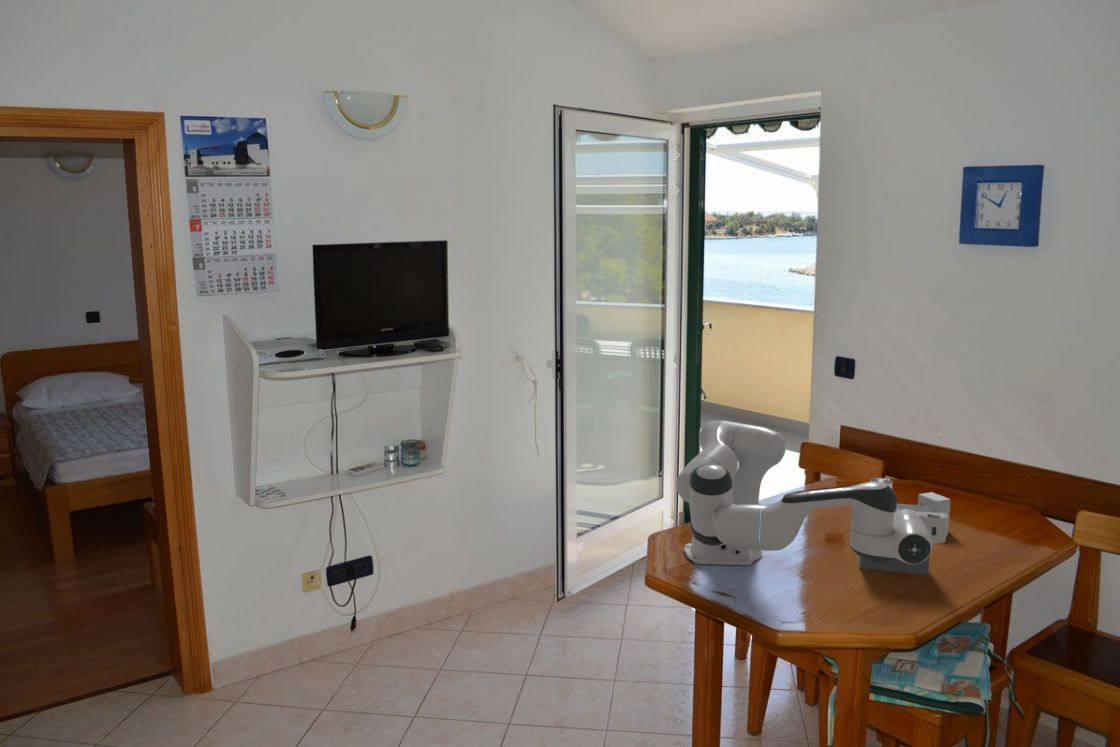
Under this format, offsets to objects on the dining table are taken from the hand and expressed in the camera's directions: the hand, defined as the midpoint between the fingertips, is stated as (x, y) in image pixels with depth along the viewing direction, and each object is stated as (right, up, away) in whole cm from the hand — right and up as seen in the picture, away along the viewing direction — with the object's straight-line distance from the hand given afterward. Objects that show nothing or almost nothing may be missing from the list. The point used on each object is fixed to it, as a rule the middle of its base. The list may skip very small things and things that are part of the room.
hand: (902, 512), depth 231 cm
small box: (+29, -13, +51) cm, 60 cm away
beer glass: (+13, -13, +53) cm, 56 cm away
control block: (+5, -19, +20) cm, 28 cm away
